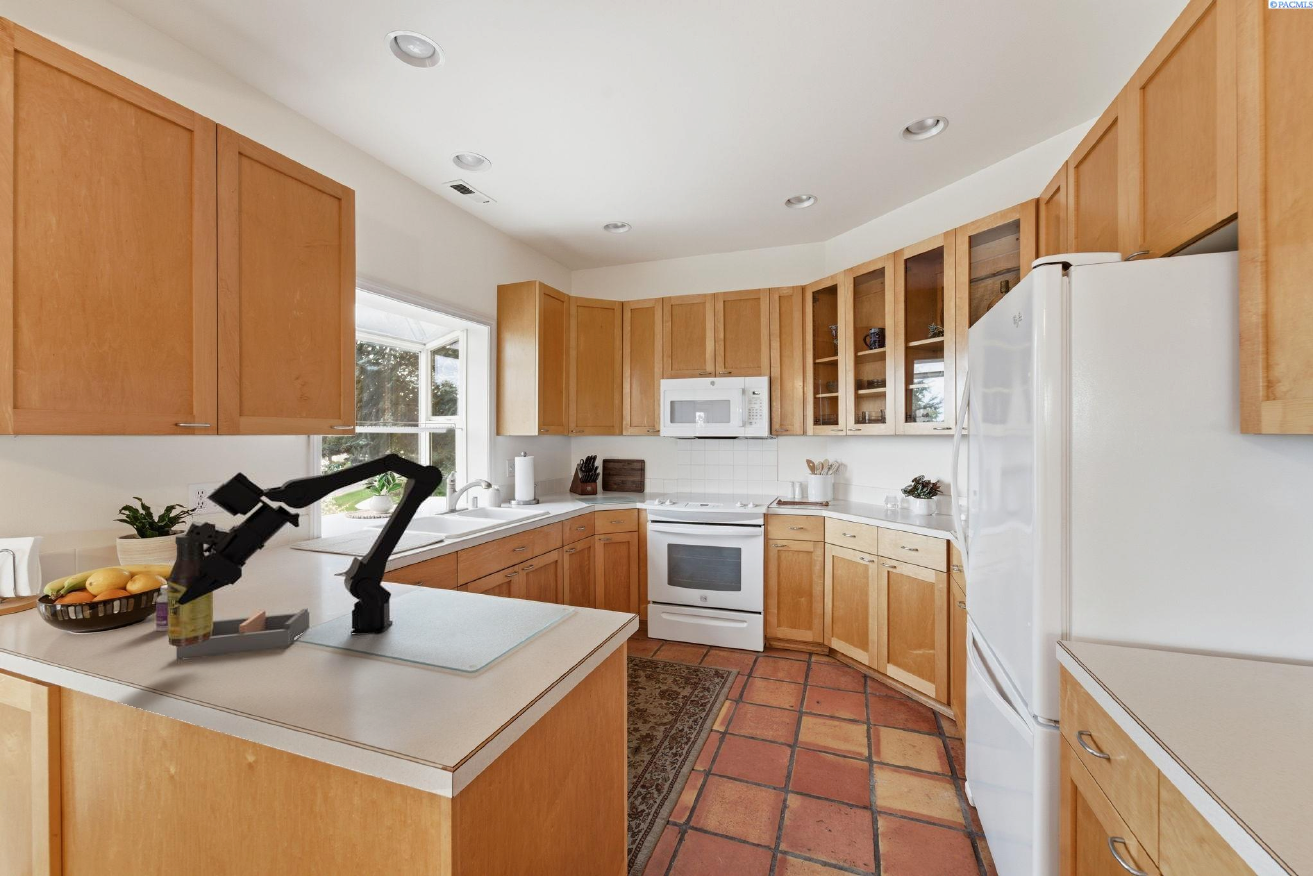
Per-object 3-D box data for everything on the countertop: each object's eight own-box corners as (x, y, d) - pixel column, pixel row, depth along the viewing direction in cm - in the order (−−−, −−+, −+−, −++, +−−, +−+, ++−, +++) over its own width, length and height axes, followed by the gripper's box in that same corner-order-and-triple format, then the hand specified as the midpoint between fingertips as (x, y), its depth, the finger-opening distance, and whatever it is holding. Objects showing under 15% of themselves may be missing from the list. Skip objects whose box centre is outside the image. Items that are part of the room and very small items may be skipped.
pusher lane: (309, 627, 116) (309, 607, 116) (288, 647, 104) (288, 625, 104) (210, 637, 111) (210, 616, 111) (176, 659, 99) (176, 636, 99)
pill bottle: (173, 632, 114) (172, 588, 114) (149, 632, 114) (149, 588, 114) (195, 623, 119) (195, 581, 119) (172, 623, 119) (172, 581, 119)
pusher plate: (265, 630, 112) (265, 610, 112) (245, 646, 103) (244, 625, 103) (260, 630, 112) (260, 611, 112) (239, 647, 103) (239, 625, 103)
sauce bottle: (166, 642, 95) (164, 534, 95) (211, 632, 100) (209, 529, 100) (169, 651, 90) (167, 538, 91) (216, 641, 95) (214, 533, 95)
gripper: (217, 501, 105) (142, 564, 98) (216, 509, 90) (127, 585, 83) (266, 534, 110) (198, 597, 103) (272, 547, 95) (194, 621, 88)
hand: (180, 599), depth 94 cm, fingers closed on sauce bottle, 6 cm apart
